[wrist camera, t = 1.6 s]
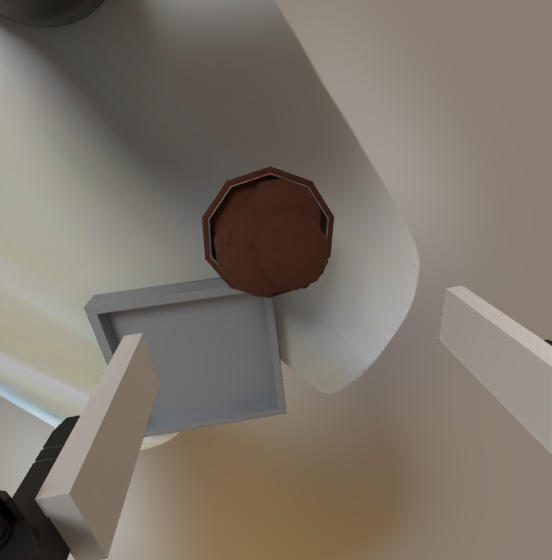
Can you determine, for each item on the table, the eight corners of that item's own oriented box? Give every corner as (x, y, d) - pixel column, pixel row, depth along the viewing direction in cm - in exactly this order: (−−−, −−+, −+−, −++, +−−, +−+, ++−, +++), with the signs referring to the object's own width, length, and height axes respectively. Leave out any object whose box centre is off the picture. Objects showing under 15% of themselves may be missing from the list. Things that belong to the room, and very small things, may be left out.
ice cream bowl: (271, 135, 32) (297, 138, 19) (328, 223, 37) (382, 278, 23) (188, 199, 34) (157, 244, 20) (252, 276, 38) (262, 356, 25)
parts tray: (94, 295, 37) (83, 307, 35) (268, 270, 38) (270, 280, 36) (142, 421, 46) (137, 438, 43) (283, 398, 47) (286, 413, 44)
